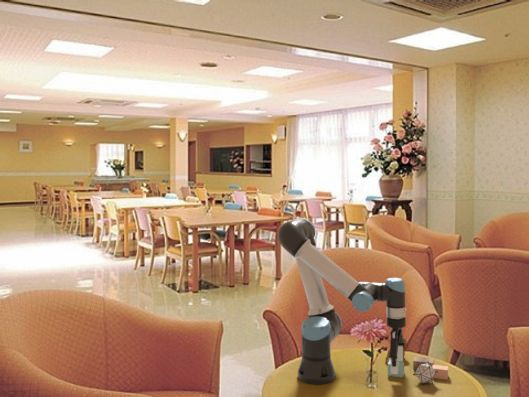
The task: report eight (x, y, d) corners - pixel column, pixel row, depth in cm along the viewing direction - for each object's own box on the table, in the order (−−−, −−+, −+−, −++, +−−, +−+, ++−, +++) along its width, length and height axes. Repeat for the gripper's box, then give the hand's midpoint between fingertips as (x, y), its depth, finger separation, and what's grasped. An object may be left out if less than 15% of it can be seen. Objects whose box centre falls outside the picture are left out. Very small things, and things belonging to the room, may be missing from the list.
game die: (429, 393, 207) (439, 380, 201) (408, 384, 208) (418, 371, 202) (432, 375, 214) (441, 361, 207) (411, 366, 215) (420, 352, 209)
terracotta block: (432, 377, 213) (432, 368, 213) (432, 374, 217) (432, 364, 216) (447, 379, 211) (447, 370, 210) (448, 375, 215) (448, 366, 214)
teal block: (387, 375, 216) (387, 363, 215) (389, 371, 220) (389, 360, 219) (402, 377, 214) (402, 365, 213) (404, 373, 217) (404, 362, 217)
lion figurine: (398, 354, 238) (398, 334, 237) (409, 357, 235) (409, 337, 234) (382, 364, 227) (382, 344, 226) (393, 367, 224) (393, 346, 223)
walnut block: (413, 370, 221) (413, 360, 221) (414, 365, 226) (414, 356, 225) (433, 372, 218) (433, 363, 218) (434, 368, 223) (434, 358, 222)
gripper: (401, 326, 202) (402, 380, 203) (409, 308, 224) (410, 356, 226) (381, 325, 204) (382, 378, 206) (391, 307, 227) (392, 355, 229)
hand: (397, 367), depth 216 cm, fingers open, 13 cm apart
